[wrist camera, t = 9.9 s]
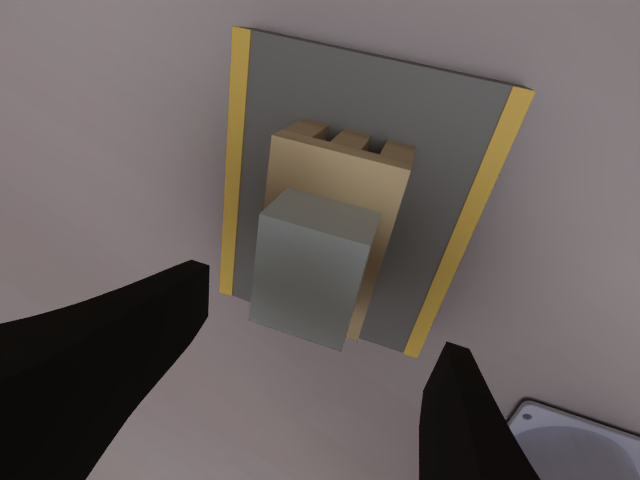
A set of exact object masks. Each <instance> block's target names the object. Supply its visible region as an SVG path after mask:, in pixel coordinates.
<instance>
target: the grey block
mask: <svg viewBox="0 0 640 480" xmlns="http://www.w3.org/2000/svg"><path fill="white" fill-rule="evenodd" d="M380 216H381V212H377V211H373V210H370V209H366V208H362V207H359V206H355V205H351V204H347V203H344V202H340V201H336V200H333V199H329V198H325V197H322V196H318V195H314V194H311V193H307V192H303V191H300V190H296V189H292V188H288V187H287V188H286V189H285V190H284V191H283V192H282V193H281V194H280V195H279V196H278V197H277V198H276V199H275V200H274V201H273V202H272V203H270V204H269V205H268V206H267V207H266V208H265V209H264V210H263V211H262V212H261V213H260V214H259V222H258V233H257V243H256V254H255V264H254V274H253V285H252V295H251V305H250V316H249V321H252V322H255V323H258V324H261V325H264V326H267V327H270V328H273V329H276V330H279V331H282V332H285V333H288V334H290V335H293V336H296V337H299V338H302V339H305V340H308V341H311V342H314V343H317V344H320V345H323V346H326V347H329V348H332V349H335V350H338V351H341V350H342V347H343V344H344V340H345V337H346V334H347V331H348V328H349V324H350V321H351V318H352V315H353V312H354V308H355V305H356V301H357V298H358V294H359V291H360V287H361V283H362V280H363V276H364V273H365V269H366V266H367V262H368V259H369V255H370V251H371V248H372V244H373V241H374V237H375V234H376V230H377V227H378V223H379V219H380Z"/></svg>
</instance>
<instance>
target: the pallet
mask: <svg viewBox="0 0 640 480" xmlns="http://www.w3.org/2000/svg"><path fill="white" fill-rule="evenodd" d="M328 128H329V125H328V124H324V123H320V122H316V121H312V120H307V119H301V120H299V121H297V122H295V123H293V124H291V125H290V126H288V127H286V128H284V129H282V130H280V131H278V132H276V133H275V134H273V135H272V137H271V146H270V156H269V165H268V174H267V183H266V192H265V201H264V209H265V208H266V207H267V206H268V205H269V204H270V203H272V202H273V201H274V200H275V199H276V198H277V197H278V196H279V195H280V194H281V193H282V192H283V191H284V190H285V189H286V188H287V187H288V188H292V189H296V190H300V191H303V192H307V193H311V194H314V195H318V196H322V197H325V198H329V199H333V200H336V201H340V202H344V203H347V204H351V205H355V206H359V207H362V208H366V209H370V210H373V211H377V212H381V216H380V219H379V223H378V227H377V230H376V234H375V237H374V241H373V244H372V248H371V251H370V255H369V259H368V262H367V266H366V269H365V273H364V276H363V280H362V283H361V287H360V291H359V294H358V298H357V301H356V305H355V308H354V312H353V315H352V318H351V321H350V324H349V328H348V331H347V334H346V337H345V338H348V339H351V340H354V341H358V338H359V335H360V331H361V328H362V325H363V322H364V319H365V315H366V312H367V309H368V306H369V303H370V300H371V296H372V293H373V290H374V287H375V284H376V280H377V277H378V274H379V271H380V268H381V264H382V261H383V258H384V255H385V252H386V249H387V245H388V242H389V239H390V236H391V233H392V229H393V226H394V223H395V220H396V217H397V214H398V210H399V207H400V204H401V201H402V198H403V194H404V191H405V188H406V185H407V182H408V178H409V175H410V172H411V168H412V163H413V158H414V153H415V148H416V146H413V145H409V144H405V143H401V142H397V141H393V140H389V139H388V140H387V142H386V144H385V145H384V147H383V149H382V151H381V153H380V154H376V153H372V152H368V148H369V144H370V140H371V136H372V135H368V134H364V133H360V132H356V131H352V130H348V129H344V130H342V131H341V132H340V133H339V134H338V135H337V136H336V137H335V138H333V139H332V140H331V141H330V142H329V141H326V139H327V133H328Z"/></svg>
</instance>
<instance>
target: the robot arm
mask: <svg viewBox="0 0 640 480" xmlns="http://www.w3.org/2000/svg"><path fill="white" fill-rule="evenodd" d="M208 304H209V265H206V264H203V263H200V262H197V261H194V260H190V261H187V262H184V263H181V264H179V265H176V266H174V267H171V268H169V269H166V270H164V271H162V272H159V273H157V274H154V275H152V276H149V277H147V278H144V279H142V280H139V281H137V282H134V283H132V284H129V285H127V286H124V287H122V288H119V289H116V290H114V291H111V292H108V293H105V294H102V295H100V296H97V297H94V298H91V299H89V300H86V301H83V302H80V303H77V304H74V305H70V306H67V307H64V308H61V309H57V310H53V311H50V312H46V313H43V314H39V315H36V316H32V317H28V318H23V319H19V320H15V321H10V322H6V323H2V324H0V480H86V478H87V477H88V475H89V474H90V472H91V471H92V469H93V468H94V466H95V465H96V463H97V462H98V460H99V459H100V457H101V456H102V454H103V453H104V451H105V450H106V448H107V447H108V446H109V444H110V443H111V441H112V440H113V439H114V437H115V436H116V434H117V433H118V432H119V430H120V429H121V427H122V426H123V424H124V423H125V422H126V420H127V419H128V417H129V416H130V415H131V414H132V412H133V411H134V410H135V409H136V407H137V406H138V405H139V403H140V402H141V401H142V400H143V399H144V398H145V396H146V395H147V394H148V393H149V392H150V391H151V389H152V388H153V387H154V386H155V385H156V384H157V382H158V381H159V380H160V379H161V378H162V377H163V375H164V374H165V373H166V372H167V371H168V370H169V368H170V367H171V366H172V365H173V364H174V363H175V361H176V360H177V359H178V358H179V357H180V355H181V354H182V353H183V352H184V351H185V350H186V348H187V347H188V346H189V345H190V343H191V342H192V340H193V339H194V338H195V336H196V335H197V333H198V332H199V330H200V328H201V327H202V325H203V324H204V322H205V320H206V319H207V317H208ZM419 480H640V437H638V436H635V435H632V434H629V433H626V432H623V431H620V430H617V429H614V428H611V427H608V426H605V425H602V424H599V423H596V422H593V421H590V420H587V419H584V418H581V417H578V416H575V415H572V414H569V413H567V412H564V411H561V410H558V409H555V408H552V407H549V406H546V405H543V404H540V403H537V402H534V401H525V402H523V403H521V405H520V406H519V407H518V409H517V410H516V412H515V413H514V415H513V416H512V417H511V419H510V420H509V422H508V423H507V422H506V420H505V419H504V417H503V415H502V413H501V411H500V409H499V407H498V406H497V404H496V402H495V400H494V398H493V396H492V394H491V392H490V390H489V388H488V386H487V384H486V382H485V380H484V378H483V376H482V374H481V372H480V370H479V368H478V365H477V363H476V361H475V359H474V357H473V355H472V353H471V351H470V349H468V348H465V347H462V346H459V345H456V344H453V343H449V342H446V344H445V346H444V348H443V350H442V352H441V354H440V357H439V359H438V361H437V363H436V365H435V367H434V369H433V371H432V373H431V375H430V378H429V380H428V382H427V384H426V386H425V388H424V390H423V398H422V406H421V414H420V424H419Z"/></svg>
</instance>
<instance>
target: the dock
mask: <svg viewBox="0 0 640 480" xmlns="http://www.w3.org/2000/svg"><path fill="white" fill-rule="evenodd" d="M535 92H536V91H534V90H532V89H530V88H527V87H525V86H521V85H517V84H512V83H507V82H503V81H498V80H493V79H489V78H484V77H479V76H475V75H470V74H465V73H461V72H456V71H451V70H446V69H442V68H437V67H432V66H428V65H423V64H418V63H414V62H409V61H404V60H400V59H395V58H390V57H386V56H381V55H376V54H372V53H367V52H362V51H358V50H353V49H348V48H344V47H339V46H334V45H330V44H325V43H320V42H315V41H311V40H306V39H301V38H297V37H292V36H287V35H283V34H278V33H273V32H269V31H264V30H259V29H255V28H246V27H237V26H233V30H232V50H231V70H230V90H229V110H228V130H227V150H226V170H225V190H224V210H223V230H222V250H221V270H220V290H219V292H220V293H223V294H226V295H229V296H232V295H233V296H236V297H239V298H242V299H244V300H247V301H250V302H251V295H252V285H253V274H254V264H255V254H256V243H257V233H258V222H259V214H260V213H261V212H262V211H263V210H264V201H265V192H266V183H267V174H268V165H269V156H270V146H271V137H272V135H273V134H275V133H276V132H278V131H280V130H282V129H284V128H286V127H288V126H290V125H291V124H293V123H295V122H297V121H299V120H301V119H307V120H312V121H316V122H320V123H324V124H328V125H329V128H328V133H327V139H326V141H329V142H330V141H331V140H332V139H333V138H335V137H336V136H337V135H338V134H339V133H340V132H341V131H342V130H344V129H348V130H352V131H356V132H360V133H364V134H368V135H372V136H371V140H370V144H369V148H368V152H372V153H376V154H380V153H381V151H382V149H383V147H384V145H385V144H386V142H387V140H388V139H389V140H393V141H397V142H401V143H405V144H409V145H413V146H416V148H415V153H414V158H413V163H412V168H411V172H410V175H409V178H408V182H407V185H406V188H405V191H404V194H403V198H402V201H401V204H400V207H399V210H398V214H397V217H396V220H395V223H394V226H393V229H392V233H391V236H390V239H389V242H388V245H387V249H386V252H385V255H384V258H383V261H382V264H381V268H380V271H379V274H378V277H377V280H376V284H375V287H374V290H373V293H372V296H371V300H370V303H369V306H368V309H367V312H366V315H365V319H364V322H363V325H362V328H361V331H360V335H359V338H361V339H364V340H367V341H370V342H373V343H376V344H379V345H382V346H385V347H388V348H391V349H394V350H397V351H400V352H403V354H405V355H408V356H411V357H414V358H418V356H419V353H420V351H421V349H422V347H423V344H424V342H425V340H426V338H427V335H428V333H429V331H430V329H431V326H432V324H433V322H434V320H435V317H436V315H437V313H438V311H439V308H440V306H441V304H442V302H443V299H444V297H445V295H446V293H447V290H448V288H449V286H450V284H451V281H452V279H453V277H454V275H455V272H456V270H457V268H458V266H459V263H460V261H461V259H462V257H463V254H464V252H465V250H466V248H467V245H468V243H469V241H470V239H471V236H472V234H473V232H474V230H475V227H476V225H477V223H478V221H479V218H480V216H481V214H482V212H483V209H484V207H485V205H486V203H487V200H488V198H489V196H490V194H491V191H492V189H493V187H494V185H495V182H496V180H497V178H498V176H499V173H500V171H501V169H502V167H503V164H504V162H505V160H506V158H507V155H508V153H509V151H510V149H511V146H512V144H513V142H514V140H515V137H516V135H517V133H518V131H519V128H520V126H521V124H522V122H523V119H524V117H525V115H526V113H527V110H528V108H529V106H530V104H531V101H532V99H533V97H534V95H535Z"/></svg>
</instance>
